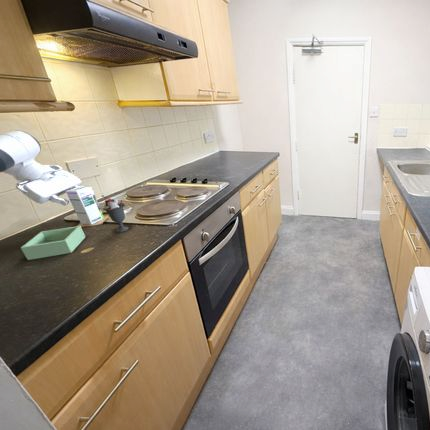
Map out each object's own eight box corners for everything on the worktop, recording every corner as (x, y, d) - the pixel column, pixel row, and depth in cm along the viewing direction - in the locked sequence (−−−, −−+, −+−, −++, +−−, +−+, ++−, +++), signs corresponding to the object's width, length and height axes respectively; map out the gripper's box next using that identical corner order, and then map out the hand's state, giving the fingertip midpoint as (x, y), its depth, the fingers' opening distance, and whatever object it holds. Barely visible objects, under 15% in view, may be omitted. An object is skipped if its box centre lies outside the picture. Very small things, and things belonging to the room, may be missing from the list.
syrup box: (91, 224, 107) (77, 191, 101) (80, 223, 108) (64, 190, 102) (105, 218, 112) (91, 186, 106) (93, 217, 113) (79, 185, 107)
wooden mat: (75, 228, 105) (74, 227, 105) (84, 219, 112) (84, 218, 112) (102, 224, 108) (101, 224, 107) (109, 216, 115) (109, 215, 115)
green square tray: (28, 261, 85) (20, 247, 83) (47, 243, 94) (40, 231, 92) (71, 253, 88) (65, 240, 86) (86, 237, 98) (80, 225, 96)
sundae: (108, 233, 101) (93, 196, 95) (125, 225, 107) (111, 190, 100) (120, 235, 99) (105, 198, 93) (137, 227, 105) (124, 192, 98)
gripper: (15, 178, 90) (59, 203, 95) (61, 164, 108) (96, 185, 113) (7, 191, 91) (51, 215, 96) (54, 175, 110) (89, 196, 115)
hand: (76, 199), depth 105 cm, fingers open, 8 cm apart
